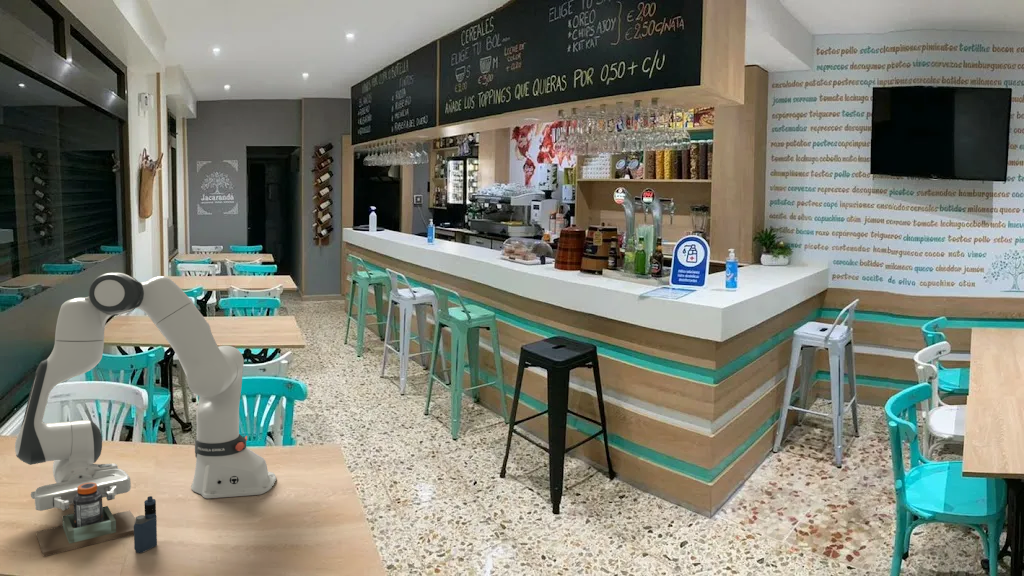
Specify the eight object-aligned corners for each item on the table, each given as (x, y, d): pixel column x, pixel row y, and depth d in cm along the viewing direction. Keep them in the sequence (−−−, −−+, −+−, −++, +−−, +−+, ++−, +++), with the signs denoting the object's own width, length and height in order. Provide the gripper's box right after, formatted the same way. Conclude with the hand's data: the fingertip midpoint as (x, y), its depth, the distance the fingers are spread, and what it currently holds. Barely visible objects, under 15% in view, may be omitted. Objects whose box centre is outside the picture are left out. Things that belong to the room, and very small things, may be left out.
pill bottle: (82, 524, 171) (80, 480, 170) (108, 524, 172) (106, 480, 170) (69, 535, 165) (67, 490, 164) (95, 535, 166) (94, 490, 164)
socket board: (130, 513, 180) (129, 499, 179) (141, 532, 171) (140, 516, 170) (36, 535, 167) (35, 519, 166) (43, 556, 158) (42, 539, 157)
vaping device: (159, 544, 165) (158, 496, 163) (139, 554, 160) (138, 504, 159) (152, 542, 166) (150, 494, 165) (132, 551, 161) (130, 502, 160)
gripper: (28, 479, 170) (35, 500, 160) (123, 461, 183) (135, 479, 173) (30, 504, 171) (37, 526, 161) (123, 484, 184) (136, 503, 174)
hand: (88, 501), depth 167 cm, fingers open, 8 cm apart
